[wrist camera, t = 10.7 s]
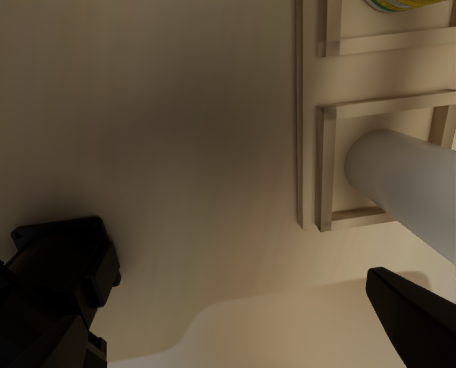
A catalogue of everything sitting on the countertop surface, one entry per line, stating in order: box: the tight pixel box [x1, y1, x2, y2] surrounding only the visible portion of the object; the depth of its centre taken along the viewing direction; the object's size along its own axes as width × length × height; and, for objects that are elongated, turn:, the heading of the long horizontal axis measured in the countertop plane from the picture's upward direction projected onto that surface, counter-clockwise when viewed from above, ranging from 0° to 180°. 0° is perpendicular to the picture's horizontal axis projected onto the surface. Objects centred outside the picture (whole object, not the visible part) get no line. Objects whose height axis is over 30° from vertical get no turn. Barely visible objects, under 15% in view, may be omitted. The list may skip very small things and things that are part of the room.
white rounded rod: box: [345, 129, 456, 266], centre depth 16 cm, size 5×5×10 cm
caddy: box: [296, 0, 456, 232], centre depth 18 cm, size 11×22×2 cm, turn 6°
